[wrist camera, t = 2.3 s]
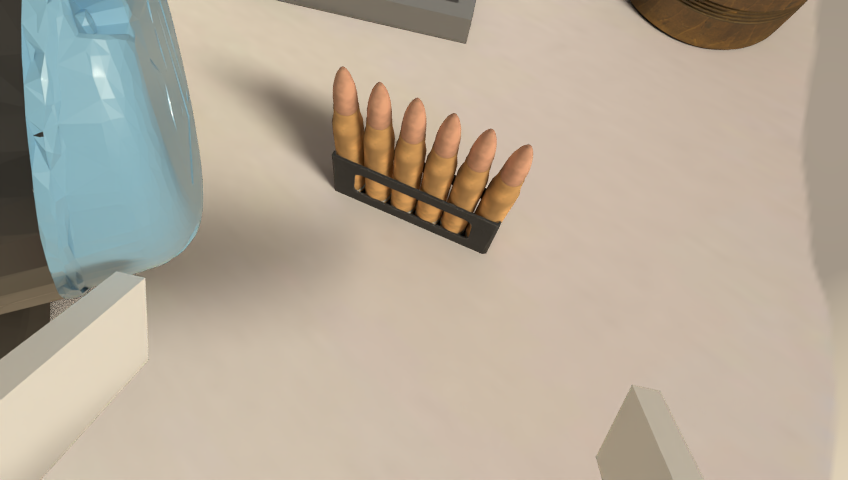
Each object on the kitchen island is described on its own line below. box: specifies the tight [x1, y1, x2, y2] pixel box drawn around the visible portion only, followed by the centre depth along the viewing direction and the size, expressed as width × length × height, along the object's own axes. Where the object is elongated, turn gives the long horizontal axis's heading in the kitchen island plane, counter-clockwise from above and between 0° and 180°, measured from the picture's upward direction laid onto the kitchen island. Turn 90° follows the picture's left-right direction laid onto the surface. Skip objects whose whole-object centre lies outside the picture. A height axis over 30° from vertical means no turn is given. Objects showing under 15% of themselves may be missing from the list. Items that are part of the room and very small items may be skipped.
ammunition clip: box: [332, 67, 533, 254], centre depth 27 cm, size 11×2×12 cm, turn 67°
